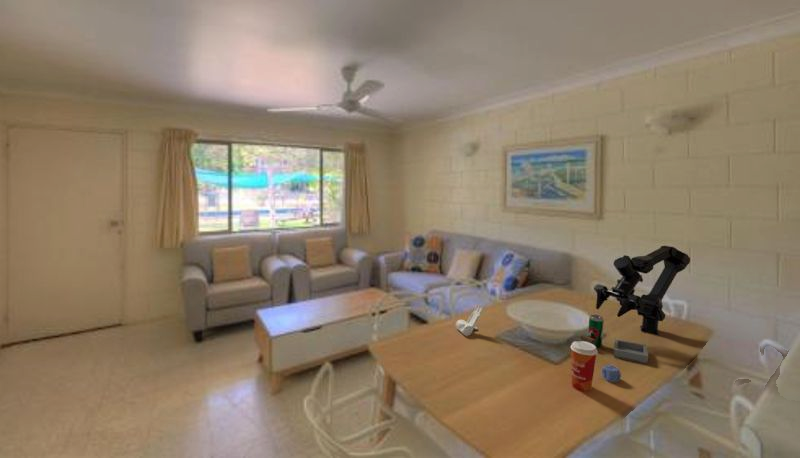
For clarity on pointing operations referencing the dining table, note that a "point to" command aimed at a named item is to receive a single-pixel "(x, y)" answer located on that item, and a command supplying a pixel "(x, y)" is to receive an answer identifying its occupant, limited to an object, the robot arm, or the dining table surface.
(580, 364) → the paper cup
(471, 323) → the plastic part
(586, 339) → the brown rectangular block
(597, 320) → the soda can
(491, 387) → the dining table surface
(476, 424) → the dining table surface
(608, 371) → the decorative dice
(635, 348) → the tray
